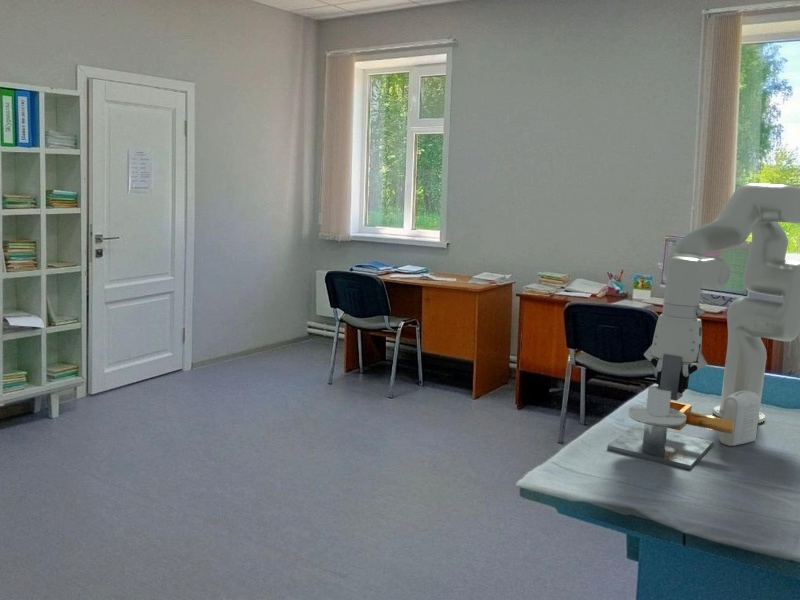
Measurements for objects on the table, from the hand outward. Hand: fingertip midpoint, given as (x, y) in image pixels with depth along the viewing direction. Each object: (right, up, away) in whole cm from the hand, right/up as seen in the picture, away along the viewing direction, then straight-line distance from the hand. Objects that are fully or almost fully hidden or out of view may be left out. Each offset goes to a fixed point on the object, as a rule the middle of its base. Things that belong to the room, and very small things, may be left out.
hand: (671, 389), depth 173 cm
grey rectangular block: (0, -2, 0) cm, 2 cm away
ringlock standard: (-1, -14, -3) cm, 14 cm away
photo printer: (+18, -13, +5) cm, 23 cm away
